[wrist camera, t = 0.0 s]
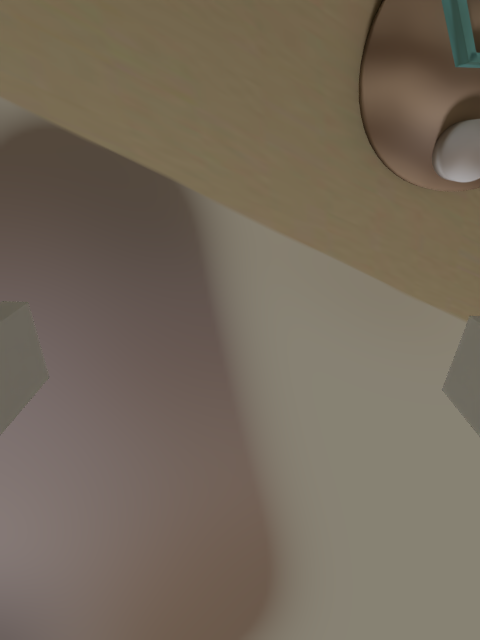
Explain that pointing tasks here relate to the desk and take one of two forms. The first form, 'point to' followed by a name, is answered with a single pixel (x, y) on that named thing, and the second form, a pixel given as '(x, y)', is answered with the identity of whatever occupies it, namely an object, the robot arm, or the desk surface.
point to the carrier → (424, 91)
